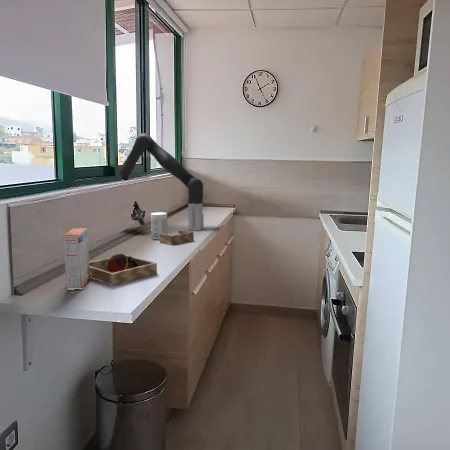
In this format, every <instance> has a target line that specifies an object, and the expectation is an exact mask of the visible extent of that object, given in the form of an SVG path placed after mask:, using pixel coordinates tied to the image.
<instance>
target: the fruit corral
mask: <svg viewBox="0 0 450 450" xmlns="http://www.w3.org/2000/svg"><path fill="white" fill-rule="evenodd" d="M124 255H125V256H128V257H129V256H130V255H127V254H124ZM132 257H133V259H134V260H135V262H136V263H137V265H138V266H136V267H135V268H131V269H127V270H123V271H119V272H115V273H111V272H108V271H106V270H103V269H106V268H107V262H108V260H109V259H110V258H111V257H108V258H102V259H99V260H93V261H89V268H90V277H92V278H95V279H98V280H101V281H103V282H106V283H109V284H111V285H110V286H112V285H113V286H115V285H114V284H116V285H119V284H118V283H120V284H123V283H122V282H124V283H126V281H127V282H130V280H131V281H135V280H138V279H142V278H146V277H150V276H153V275H156V274H158V269H157V267H158V266H157V264H158V263H157V262H154V261H150V260H146V259H142V258H138V257H134V256H132ZM152 274H153V275H152ZM149 275H150V276H149ZM145 276H146V277H145ZM141 277H142V278H141ZM92 278H91V279H92ZM137 278H138V279H137ZM95 279H94V280H95ZM134 279H135V280H134ZM98 280H97V281H98ZM103 282H102V283H103ZM106 283H105V284H106ZM109 284H108V285H109Z"/></svg>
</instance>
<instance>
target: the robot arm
mask: <svg viewBox="0 0 450 450" xmlns="http://www.w3.org/2000/svg"><path fill="white" fill-rule="evenodd" d="M145 151H147V152H148V153H149V154H151V156H152V157H153V158H154V159H155V161H156V162H157V163H158V164H159V165H160V166H161V167H162V168H163V169H164V170H165V171H167V173H169V174H170V175H172V176H173V177H175V178H176V179H178V180H179V181H180V182H182V183H183V185H184V186H185V187H186V188H187V189H188V200H187V218H188V222H187V223H188V225H187V226H188V230H189V231H191V232H194V231H203V230H204V228H205V227H204V226H205V225H204V223H205V221H204V220H205V218H204V217H205V216H204V214H203V200H204V184H203V182H202V180H201V179H199V178H197V177H196V176H194V175H192V174H191V173H190V172H188V171H187V170H186V168H185V167H184V165H182V164H181V163H180V162H179V161H178V160H177V159H176V158H175V157H174V156H173V155H172V154H170V153H169V152H168V151H167V150H165V149H164V148H163V147H161V146H160V145H159V144H158V143H157V142H156V140H154V138H152V137H151V135H149V134H148V133H145V132H142V133H139V134H138V135H137V136H136V138H135V140H134V143H133V147H132V148H131V150H130V152H129V154H128V156H127V157H126V158H125V160H124V162H123V164H122V165H121V167H120V168H119V170H118V174H119V175H120V177H121V176H122V178H123V179H124V180H128V181H129V178H130V176H131V174H132V172H133V171H134V169H135V167H136V165H137V163H138V161H139V159H140V158H141V157H142V155H143V154H144V152H145ZM133 206H134V207H135V208H134V210H133V214H131V217H132V219H131V220H133V221H135V222H136V221H137V222H138V223H139V225H140V226H142V227H143V226H144V225H145V224H146V223H145V220H144V218H145V216H146V210H142V209H141V208H140V206H139V204H138V202H137V200H136V201H135V202H134V205H133ZM188 230H187V231H188Z"/></svg>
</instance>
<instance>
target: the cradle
mask: <svg viewBox="0 0 450 450" xmlns="http://www.w3.org/2000/svg"><path fill="white" fill-rule="evenodd" d="M194 239H195V238H194V231H191V230H189V231H188V230H185V229H184V230H183V229H178V234H174V235H173V234H169V233H168V234H163V233H161V234H160V239H159V243H160V244H165V245H169V246H176V245H179V244H184V243H188V242H189V243H190V242H194Z"/></svg>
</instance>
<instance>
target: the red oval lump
mask: <svg viewBox="0 0 450 450" xmlns="http://www.w3.org/2000/svg"><path fill="white" fill-rule="evenodd" d="M125 255H126V254H124V253H117V254H114V255H112V256H111V257H109V258H110V259H109V260H108V262H107V268H106V270H105V271H108V272H111V273H115V272H119V271H123V270H127V269H131V268H135V267H136V266H138V265H137V263H136V262H135V260H134V259H133V257H134V256H131V255H127V256H125ZM128 256H129V257H128Z"/></svg>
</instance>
